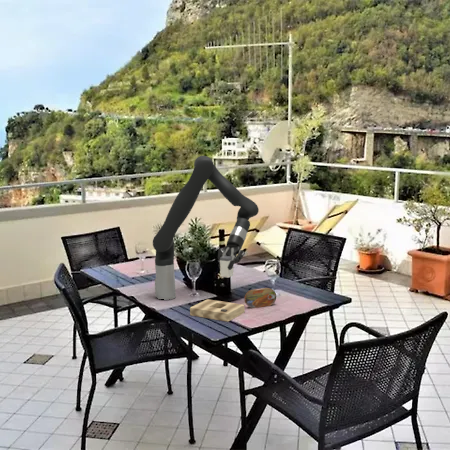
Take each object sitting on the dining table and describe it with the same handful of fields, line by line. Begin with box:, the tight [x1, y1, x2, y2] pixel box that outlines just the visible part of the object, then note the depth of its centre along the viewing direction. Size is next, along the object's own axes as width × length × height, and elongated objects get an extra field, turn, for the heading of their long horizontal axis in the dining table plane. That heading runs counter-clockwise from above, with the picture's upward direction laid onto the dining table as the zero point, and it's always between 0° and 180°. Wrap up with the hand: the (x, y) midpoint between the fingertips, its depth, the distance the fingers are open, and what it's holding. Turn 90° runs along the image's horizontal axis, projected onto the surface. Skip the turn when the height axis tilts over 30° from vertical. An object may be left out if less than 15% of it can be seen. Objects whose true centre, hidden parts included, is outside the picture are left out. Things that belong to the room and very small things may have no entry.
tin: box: [243, 287, 277, 309], centre depth 260 cm, size 15×3×8 cm, turn 106°
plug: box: [219, 255, 234, 278], centre depth 262 cm, size 4×4×9 cm
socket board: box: [189, 299, 246, 322], centre depth 251 cm, size 20×14×4 cm
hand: (224, 268), depth 260 cm, fingers closed on plug, 4 cm apart
